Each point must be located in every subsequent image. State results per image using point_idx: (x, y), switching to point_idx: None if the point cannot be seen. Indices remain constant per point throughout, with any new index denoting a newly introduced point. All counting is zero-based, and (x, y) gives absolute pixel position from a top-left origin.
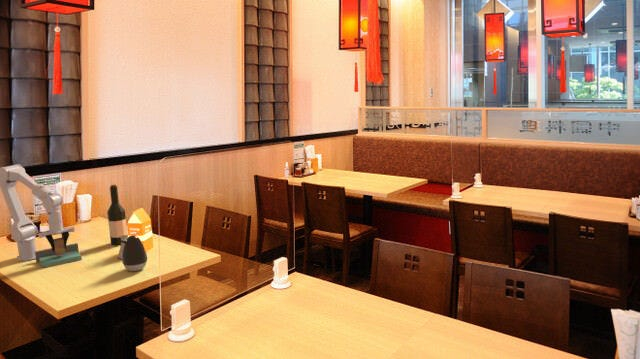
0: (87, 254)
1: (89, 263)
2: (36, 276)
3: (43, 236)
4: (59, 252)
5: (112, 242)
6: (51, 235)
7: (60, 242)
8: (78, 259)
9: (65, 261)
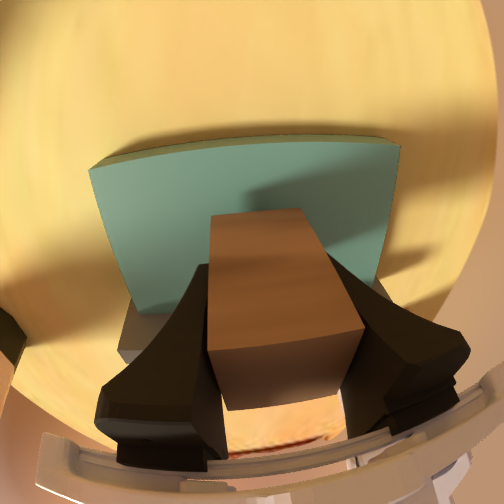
0: (80, 256)
1: (65, 37)
2: (430, 11)
3: (468, 393)
4: (268, 225)
5: (5, 326)
6: (398, 422)
7: (259, 310)
8: (122, 155)
9: (223, 142)
